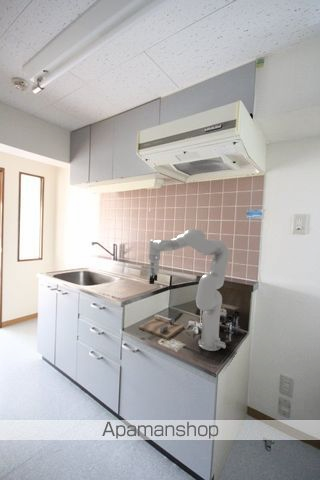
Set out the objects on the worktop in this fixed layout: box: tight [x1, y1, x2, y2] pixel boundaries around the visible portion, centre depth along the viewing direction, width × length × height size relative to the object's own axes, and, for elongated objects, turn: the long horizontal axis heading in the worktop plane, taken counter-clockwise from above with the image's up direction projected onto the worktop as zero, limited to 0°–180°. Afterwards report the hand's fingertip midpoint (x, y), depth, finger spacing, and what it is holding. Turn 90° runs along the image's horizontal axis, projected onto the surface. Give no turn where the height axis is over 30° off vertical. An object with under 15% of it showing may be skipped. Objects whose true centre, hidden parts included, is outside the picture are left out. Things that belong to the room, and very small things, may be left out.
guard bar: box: [153, 313, 175, 324], centre depth 152 cm, size 15×3×3 cm, turn 55°
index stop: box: [160, 325, 168, 333], centre depth 137 cm, size 2×5×4 cm, turn 145°
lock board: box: [138, 318, 185, 340], centre depth 144 cm, size 22×20×2 cm
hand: (153, 282), depth 152 cm, fingers open, 9 cm apart
